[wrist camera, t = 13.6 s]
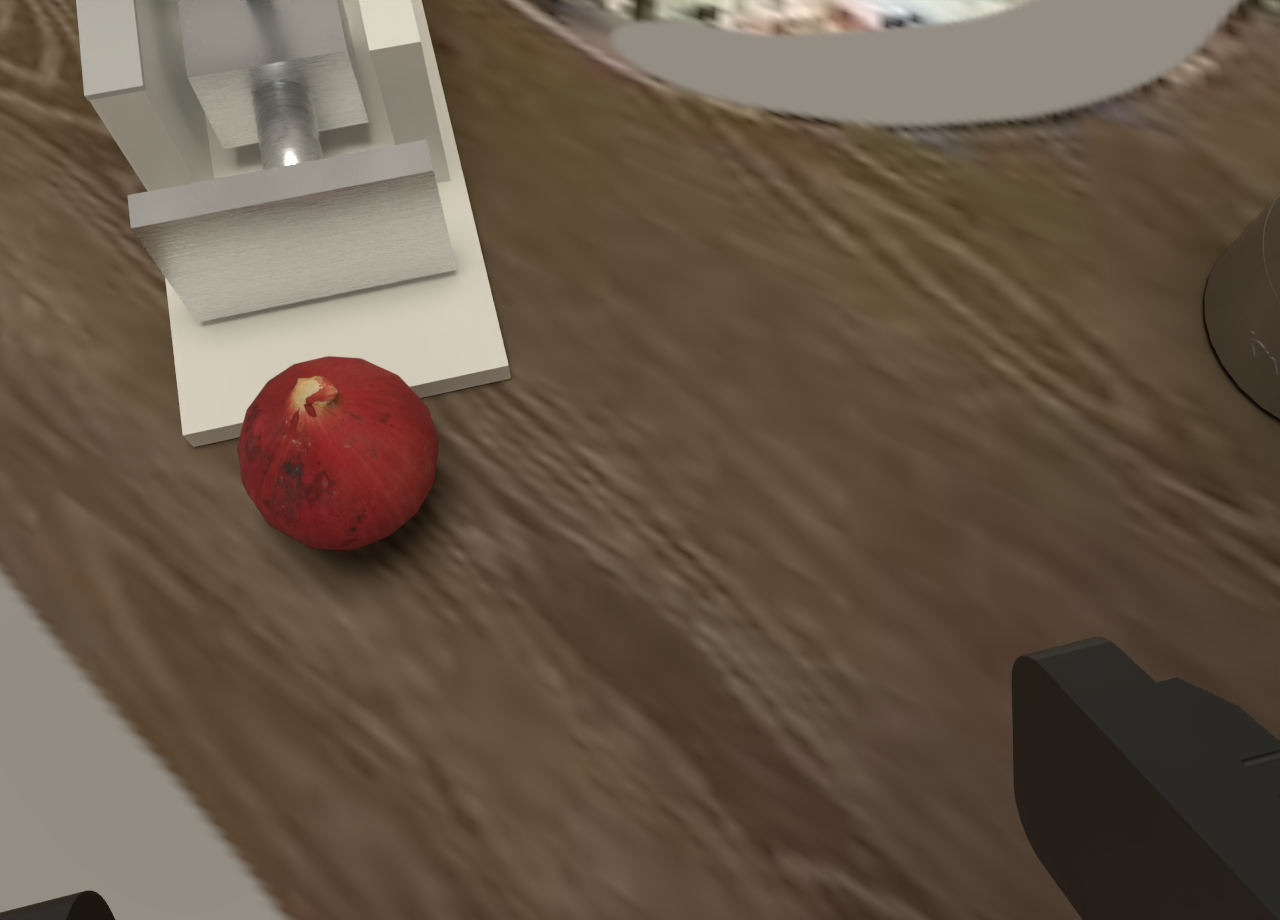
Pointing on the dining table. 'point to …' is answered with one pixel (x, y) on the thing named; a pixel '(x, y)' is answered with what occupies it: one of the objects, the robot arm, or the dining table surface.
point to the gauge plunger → (288, 170)
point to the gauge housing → (191, 152)
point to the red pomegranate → (337, 452)
